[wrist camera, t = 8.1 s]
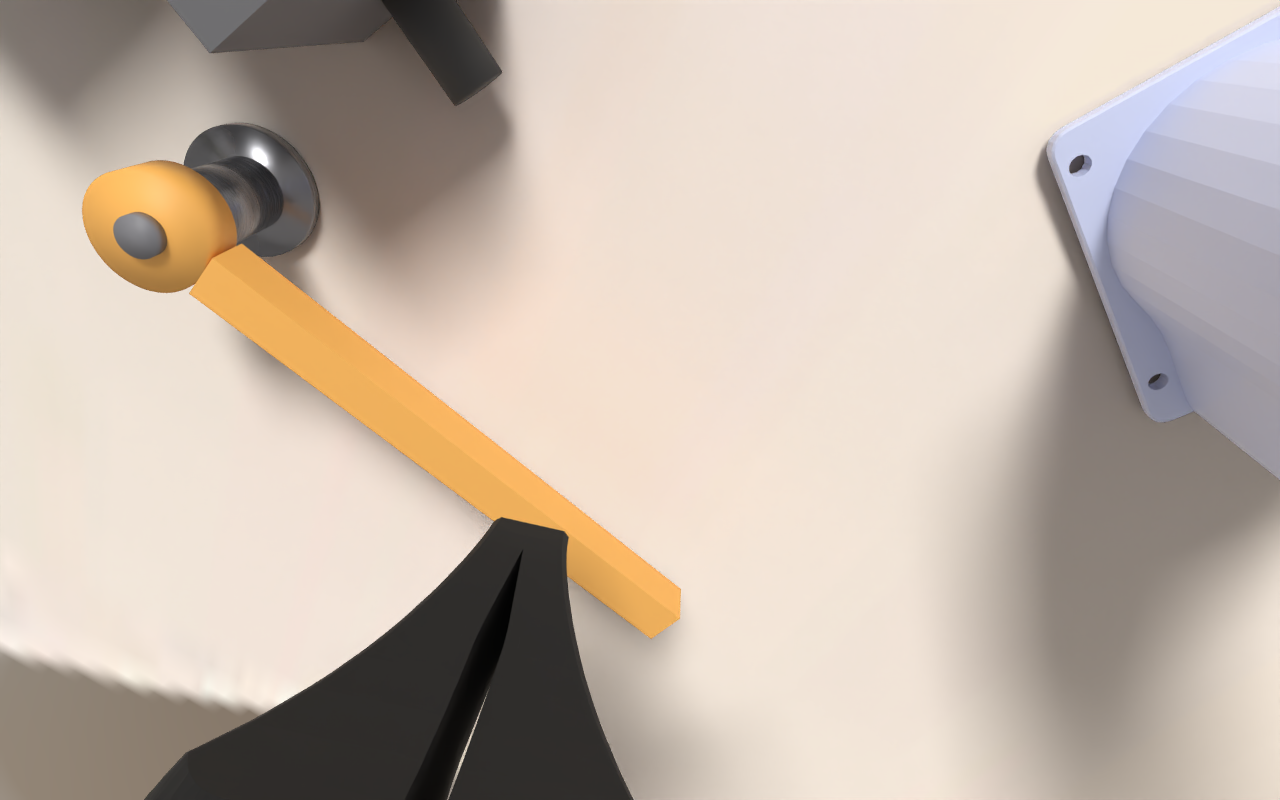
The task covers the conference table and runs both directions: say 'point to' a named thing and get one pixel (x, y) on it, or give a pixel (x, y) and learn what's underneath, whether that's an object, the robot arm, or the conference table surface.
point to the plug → (349, 31)
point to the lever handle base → (258, 185)
